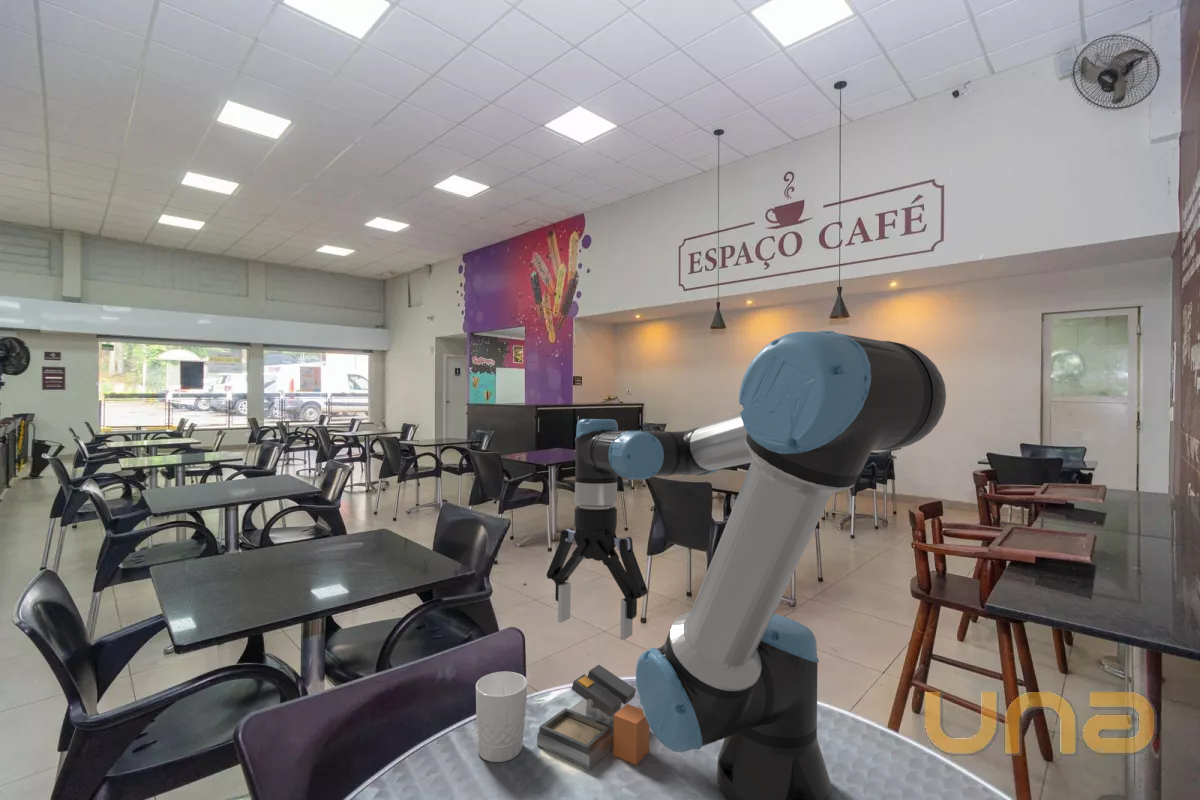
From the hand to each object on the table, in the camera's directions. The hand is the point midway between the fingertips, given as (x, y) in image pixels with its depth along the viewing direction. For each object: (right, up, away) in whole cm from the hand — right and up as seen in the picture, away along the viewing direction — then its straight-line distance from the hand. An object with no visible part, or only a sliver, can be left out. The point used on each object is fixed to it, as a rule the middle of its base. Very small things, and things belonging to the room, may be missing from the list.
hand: (594, 628), depth 93 cm
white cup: (-14, -14, -11) cm, 23 cm away
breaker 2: (+3, -9, -2) cm, 10 cm away
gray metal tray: (0, -14, -7) cm, 16 cm away
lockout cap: (+6, -14, -12) cm, 19 cm away
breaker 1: (0, -9, -6) cm, 11 cm away
